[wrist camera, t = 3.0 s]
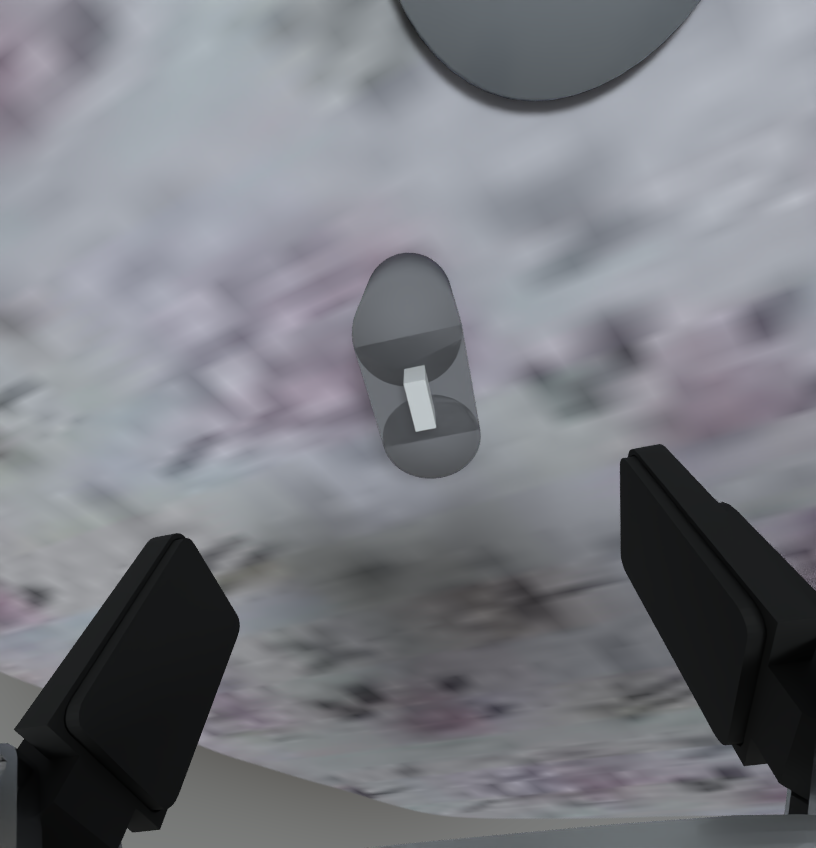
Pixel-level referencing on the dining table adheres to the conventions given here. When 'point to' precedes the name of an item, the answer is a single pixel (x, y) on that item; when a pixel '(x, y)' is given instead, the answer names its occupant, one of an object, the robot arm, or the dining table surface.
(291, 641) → the dining table surface
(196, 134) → the dining table surface
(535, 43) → the grey flat disc
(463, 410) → the plug
